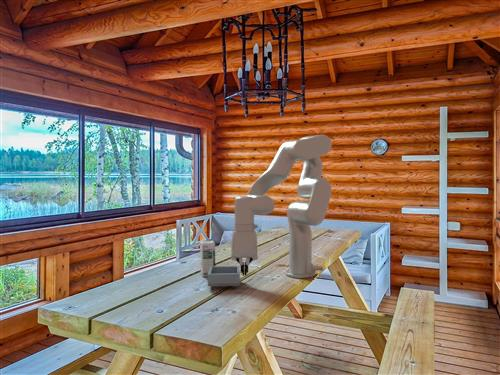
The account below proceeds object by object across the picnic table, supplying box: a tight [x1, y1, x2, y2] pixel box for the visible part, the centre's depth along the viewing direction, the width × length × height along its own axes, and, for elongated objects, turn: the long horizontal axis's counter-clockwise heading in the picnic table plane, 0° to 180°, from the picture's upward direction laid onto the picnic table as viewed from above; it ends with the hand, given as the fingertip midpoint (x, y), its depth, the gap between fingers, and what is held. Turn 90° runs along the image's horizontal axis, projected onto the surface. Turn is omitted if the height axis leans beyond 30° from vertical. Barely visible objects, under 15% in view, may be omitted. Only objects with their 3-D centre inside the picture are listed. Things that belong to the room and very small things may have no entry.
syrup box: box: [199, 240, 216, 278], centre depth 162 cm, size 6×6×14 cm
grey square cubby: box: [207, 265, 241, 291], centre depth 147 cm, size 12×12×6 cm
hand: (244, 274), depth 147 cm, fingers closed
